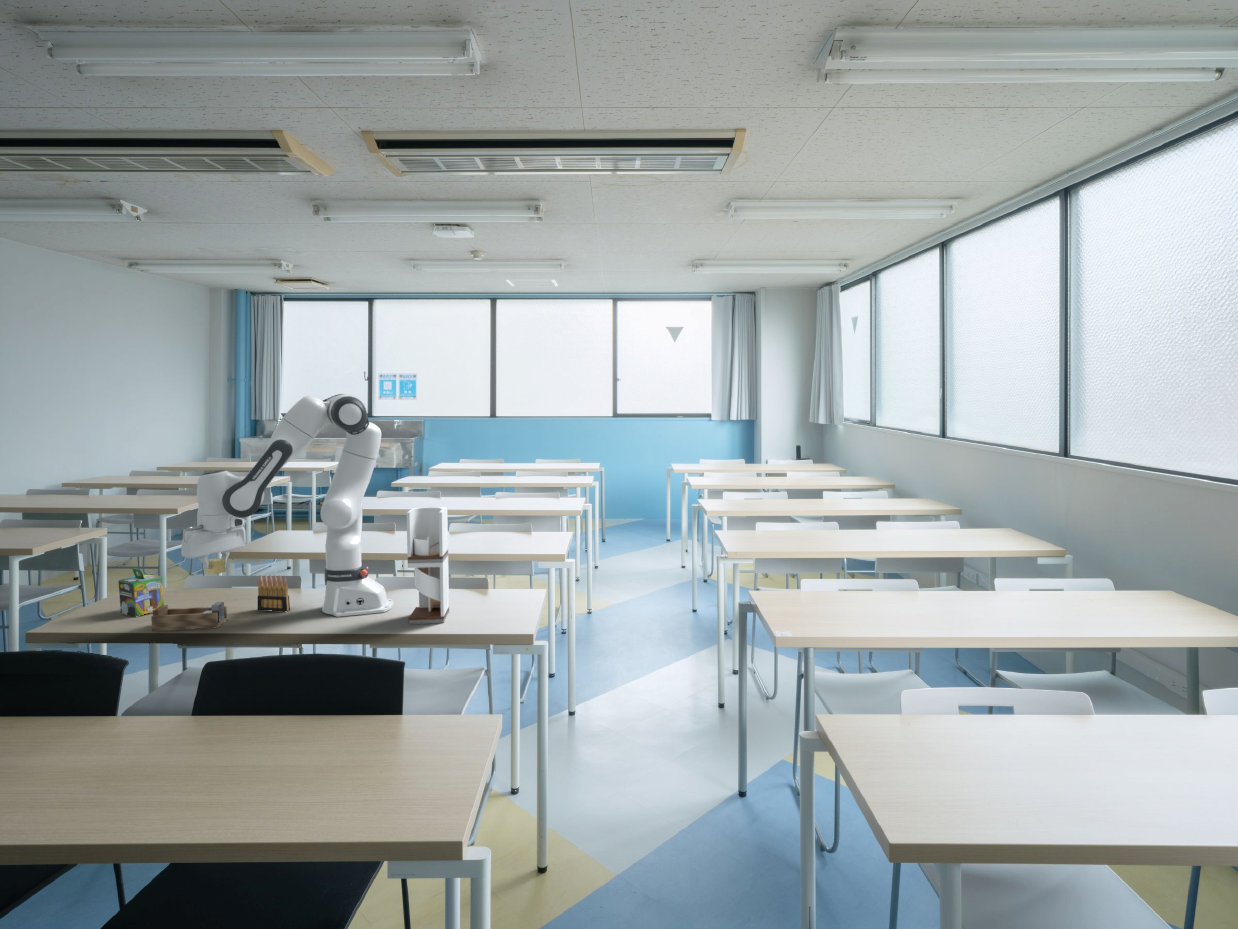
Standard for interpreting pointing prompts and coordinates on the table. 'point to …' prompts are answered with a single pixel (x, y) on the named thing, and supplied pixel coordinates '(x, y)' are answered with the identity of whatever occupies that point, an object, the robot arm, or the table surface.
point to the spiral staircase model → (429, 562)
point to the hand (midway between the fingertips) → (214, 567)
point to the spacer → (216, 566)
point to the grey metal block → (218, 610)
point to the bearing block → (184, 618)
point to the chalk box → (140, 594)
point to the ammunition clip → (273, 594)
